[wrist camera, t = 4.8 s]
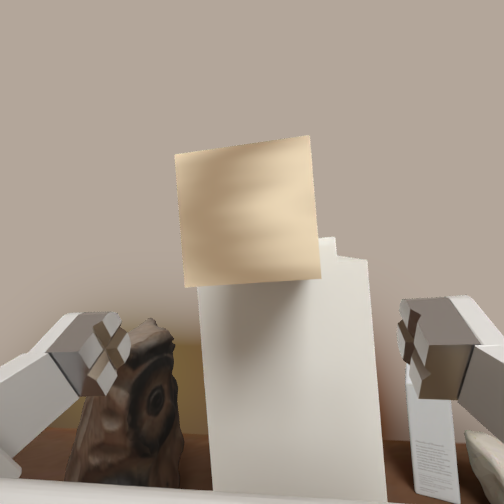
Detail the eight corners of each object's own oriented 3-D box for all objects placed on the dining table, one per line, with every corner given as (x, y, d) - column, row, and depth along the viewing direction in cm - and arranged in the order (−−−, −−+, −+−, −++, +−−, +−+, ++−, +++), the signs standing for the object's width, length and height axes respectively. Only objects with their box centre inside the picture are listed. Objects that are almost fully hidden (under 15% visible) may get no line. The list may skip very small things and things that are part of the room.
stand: (229, 701, 18) (193, 239, 18) (264, 488, 34) (245, 244, 35) (406, 733, 16) (364, 224, 17) (355, 493, 33) (334, 237, 33)
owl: (159, 463, 40) (147, 314, 40) (229, 504, 33) (215, 320, 33) (52, 538, 30) (37, 339, 30) (117, 625, 22) (97, 358, 23)
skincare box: (413, 458, 37) (405, 361, 37) (454, 467, 35) (446, 365, 35) (413, 494, 32) (404, 381, 32) (461, 507, 30) (451, 387, 30)
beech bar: (185, 287, 9) (174, 154, 9) (268, 261, 31) (265, 222, 31) (321, 278, 8) (309, 135, 8) (308, 258, 30) (305, 218, 30)
